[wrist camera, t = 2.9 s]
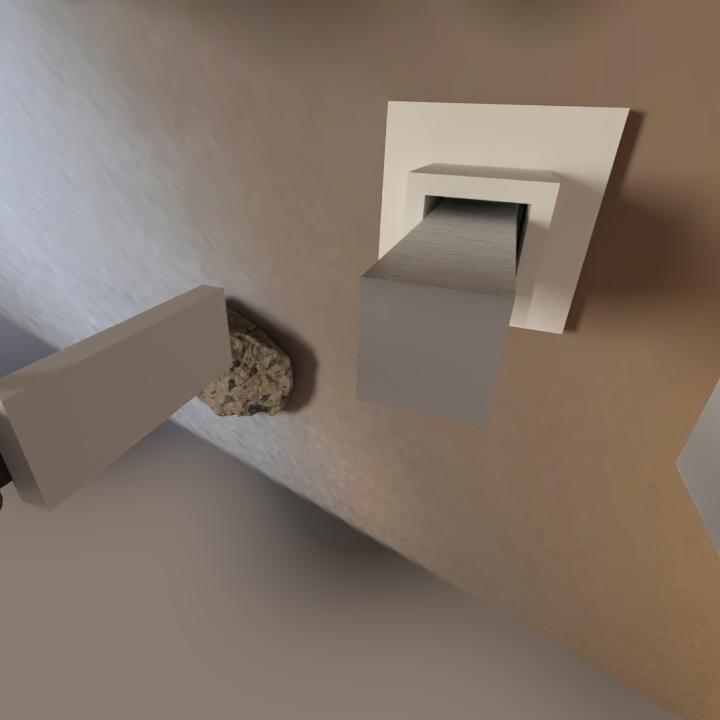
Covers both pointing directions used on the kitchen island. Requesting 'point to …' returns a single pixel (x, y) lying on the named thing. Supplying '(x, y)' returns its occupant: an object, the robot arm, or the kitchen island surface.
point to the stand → (507, 184)
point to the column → (440, 312)
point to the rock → (250, 374)
